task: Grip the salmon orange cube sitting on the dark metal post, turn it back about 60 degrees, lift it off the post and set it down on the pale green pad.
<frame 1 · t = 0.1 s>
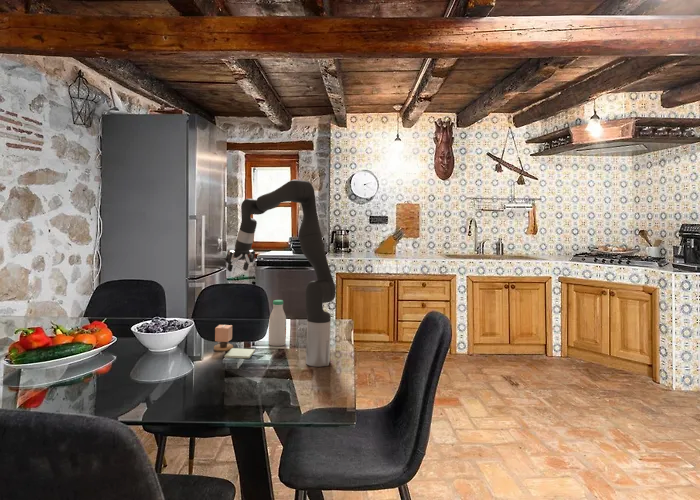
hand: (237, 270, 208), 31 cm above the table, tool tilted 20°, fingers open, 8 cm apart
salmon orange cube: (223, 339, 187), point 4 cm above the table, touching post
post: (223, 348, 187), on the table
milk bottle: (277, 344, 197), on the table
pad: (240, 354, 181), on the table
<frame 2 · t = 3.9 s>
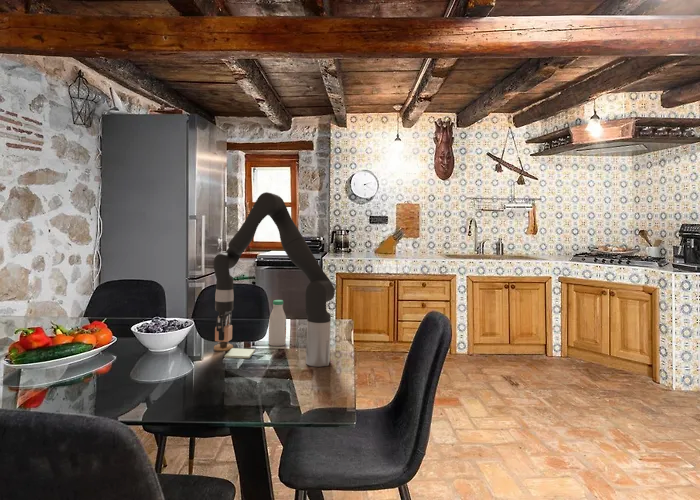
hand: (223, 338, 187), 5 cm above the table, tool pointing down, fingers closed on salmon orange cube, 5 cm apart
salmon orange cube: (223, 339, 187), point 4 cm above the table, touching gripper, post
everything else where it was.
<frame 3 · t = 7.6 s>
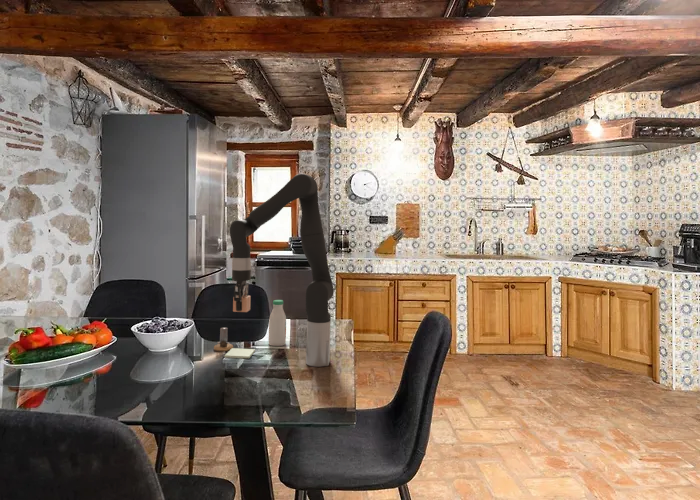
hand: (241, 309, 179), 19 cm above the table, tool pointing down, fingers closed on salmon orange cube, 5 cm apart
salmon orange cube: (241, 310, 179), point 18 cm above the table, touching gripper
everything else where it was.
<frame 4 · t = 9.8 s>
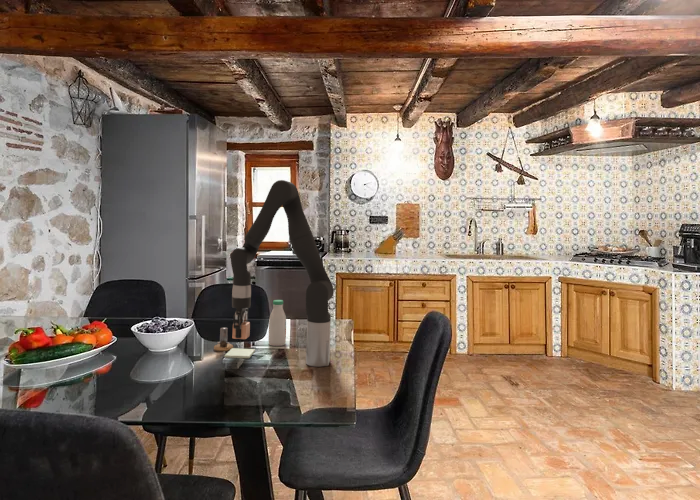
hand: (240, 335, 180), 8 cm above the table, tool pointing down, fingers closed on salmon orange cube, 5 cm apart
salmon orange cube: (241, 337, 180), point 7 cm above the table, touching gripper
everything else where it was.
when the fingers open (3 cm above the table, at t = 11.7 s): salmon orange cube drops 2 cm, resting on pad.
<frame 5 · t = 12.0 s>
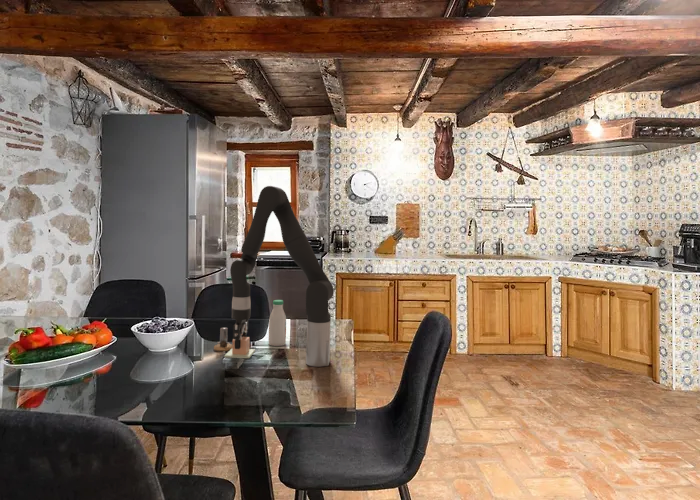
hand: (240, 345, 180), 4 cm above the table, tool pointing down, fingers open, 8 cm apart
salmon orange cube: (240, 352, 181), point 1 cm above the table, touching pad
everything else where it was.
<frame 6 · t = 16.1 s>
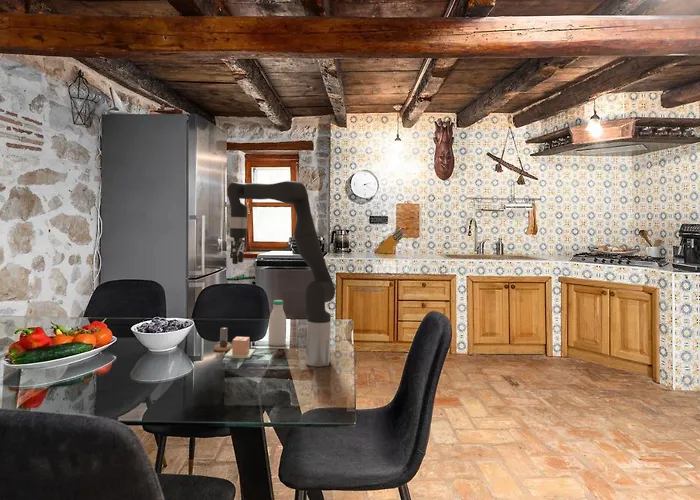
hand: (237, 263, 196), 36 cm above the table, tool pointing down, fingers open, 8 cm apart
nothing on the table moved.
at the end: salmon orange cube inside the target area on the pad (0.3 cm from its centre), point 0.8 cm above the pad's base; salmon orange cube tilted 0°; the gripper is holding nothing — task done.
